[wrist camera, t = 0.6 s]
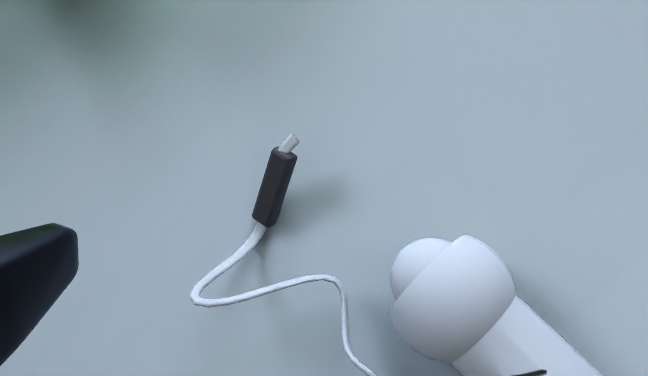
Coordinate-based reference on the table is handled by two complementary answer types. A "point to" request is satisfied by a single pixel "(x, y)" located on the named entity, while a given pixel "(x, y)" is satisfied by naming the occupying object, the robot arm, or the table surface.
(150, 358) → the table surface
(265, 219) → the clip-on lamp
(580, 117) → the table surface
